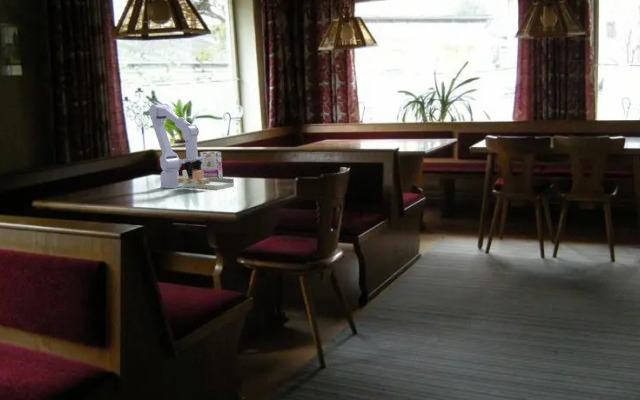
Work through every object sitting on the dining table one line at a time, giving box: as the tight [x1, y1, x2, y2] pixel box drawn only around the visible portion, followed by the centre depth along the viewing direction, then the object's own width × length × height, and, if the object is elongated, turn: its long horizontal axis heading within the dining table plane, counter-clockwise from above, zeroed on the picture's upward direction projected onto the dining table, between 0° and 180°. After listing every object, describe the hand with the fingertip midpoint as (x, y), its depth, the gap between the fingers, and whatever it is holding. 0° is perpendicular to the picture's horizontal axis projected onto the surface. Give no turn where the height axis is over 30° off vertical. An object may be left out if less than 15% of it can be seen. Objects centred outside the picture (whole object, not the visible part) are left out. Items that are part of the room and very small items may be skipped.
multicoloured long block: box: [177, 168, 210, 185], centre depth 352 cm, size 18×5×7 cm, turn 55°
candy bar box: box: [199, 151, 224, 178], centre depth 381 cm, size 11×5×16 cm, turn 68°
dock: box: [183, 177, 235, 190], centre depth 362 cm, size 24×12×4 cm, turn 55°
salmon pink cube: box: [192, 169, 204, 179], centre depth 350 cm, size 4×4×4 cm
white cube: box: [182, 169, 188, 179], centre depth 354 cm, size 4×4×4 cm
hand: (193, 175), depth 352 cm, fingers closed on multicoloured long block, 4 cm apart
